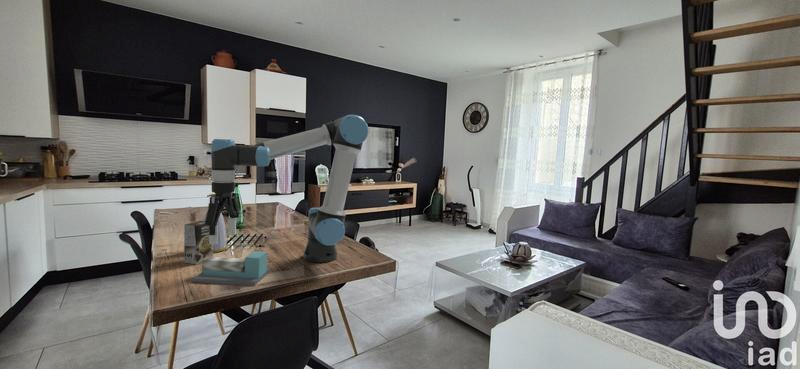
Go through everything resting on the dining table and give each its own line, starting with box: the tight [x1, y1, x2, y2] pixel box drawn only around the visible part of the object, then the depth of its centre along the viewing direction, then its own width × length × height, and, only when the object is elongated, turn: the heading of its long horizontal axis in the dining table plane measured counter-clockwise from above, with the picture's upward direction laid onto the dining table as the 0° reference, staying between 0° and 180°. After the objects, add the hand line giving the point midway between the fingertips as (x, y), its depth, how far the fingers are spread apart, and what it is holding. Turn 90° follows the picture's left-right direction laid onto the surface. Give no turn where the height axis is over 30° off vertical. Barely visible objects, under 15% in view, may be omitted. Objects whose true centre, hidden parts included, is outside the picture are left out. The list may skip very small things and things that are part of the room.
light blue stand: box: [192, 250, 271, 286], centre depth 127 cm, size 22×14×9 cm, turn 90°
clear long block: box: [201, 256, 245, 273], centre depth 127 cm, size 15×4×5 cm, turn 90°
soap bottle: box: [203, 193, 228, 254], centre depth 157 cm, size 11×12×26 cm
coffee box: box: [183, 220, 214, 265], centre depth 142 cm, size 9×6×16 cm
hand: (223, 238), depth 127 cm, fingers open, 12 cm apart
